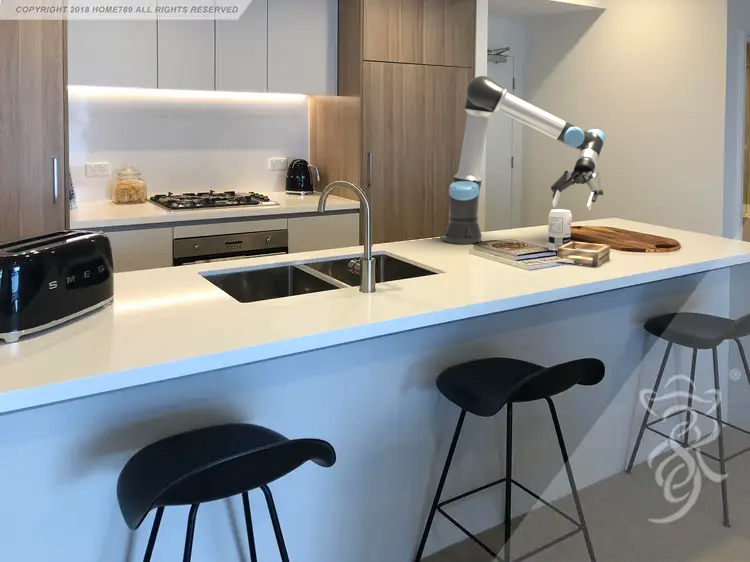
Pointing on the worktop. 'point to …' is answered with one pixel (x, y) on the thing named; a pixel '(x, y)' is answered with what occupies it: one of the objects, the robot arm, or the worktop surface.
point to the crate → (585, 253)
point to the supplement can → (559, 228)
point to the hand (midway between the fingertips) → (570, 206)
